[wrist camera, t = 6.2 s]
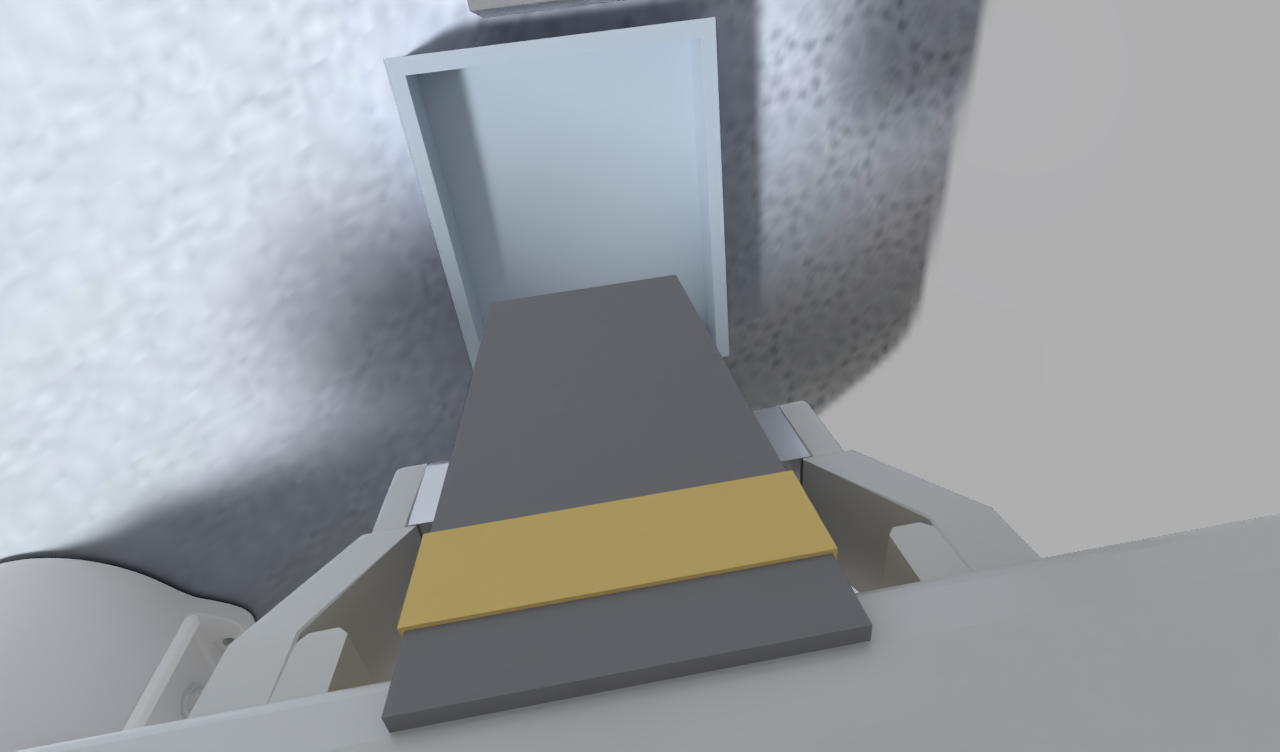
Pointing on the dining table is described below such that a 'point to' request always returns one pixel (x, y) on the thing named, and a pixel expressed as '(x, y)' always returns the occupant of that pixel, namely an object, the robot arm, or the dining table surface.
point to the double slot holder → (523, 6)
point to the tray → (571, 165)
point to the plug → (608, 518)
